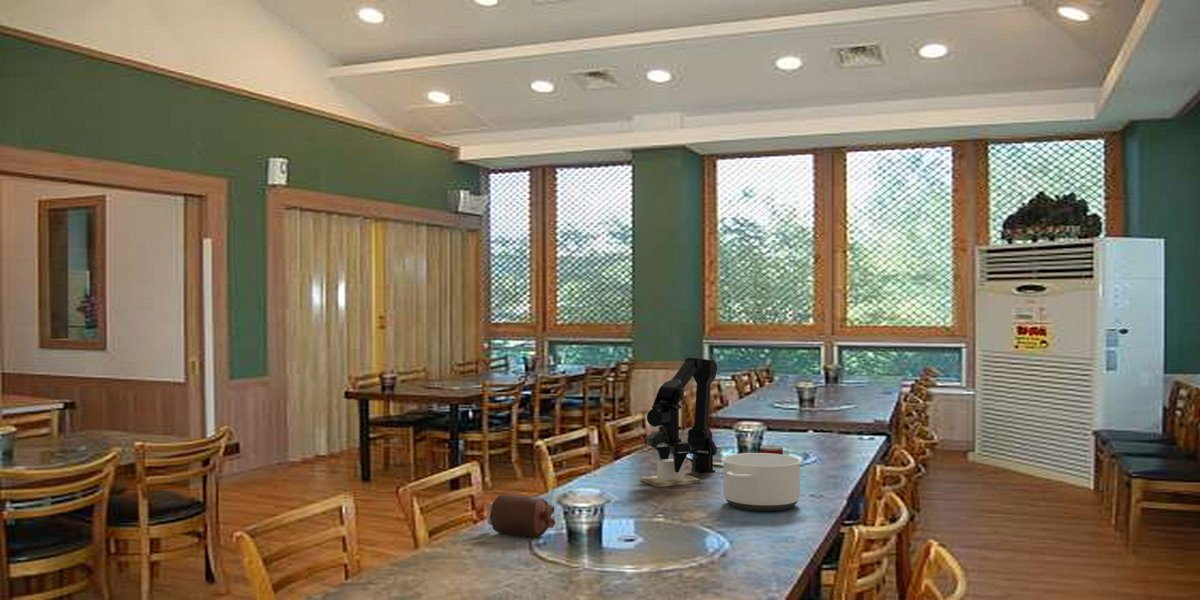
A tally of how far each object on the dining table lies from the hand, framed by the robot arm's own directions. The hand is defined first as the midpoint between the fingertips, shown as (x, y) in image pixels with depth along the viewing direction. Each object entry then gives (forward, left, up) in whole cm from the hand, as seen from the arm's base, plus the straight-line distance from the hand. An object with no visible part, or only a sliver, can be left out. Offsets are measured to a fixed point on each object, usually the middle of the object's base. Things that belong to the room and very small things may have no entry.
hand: (670, 470), depth 314 cm
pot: (-8, +43, -4) cm, 44 cm away
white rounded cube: (0, 0, -3) cm, 3 cm away
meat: (+68, +48, -4) cm, 83 cm away
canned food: (-33, +10, -4) cm, 35 cm away
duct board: (0, 0, -4) cm, 4 cm away
